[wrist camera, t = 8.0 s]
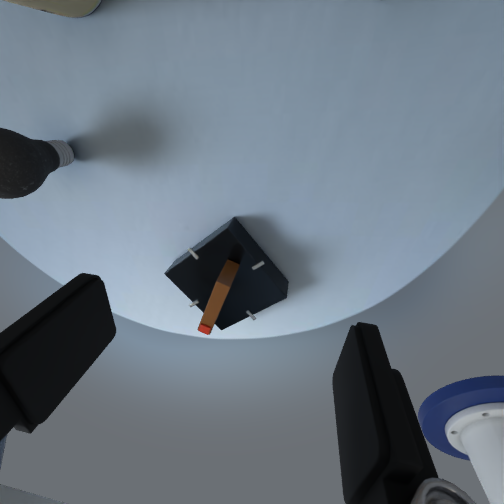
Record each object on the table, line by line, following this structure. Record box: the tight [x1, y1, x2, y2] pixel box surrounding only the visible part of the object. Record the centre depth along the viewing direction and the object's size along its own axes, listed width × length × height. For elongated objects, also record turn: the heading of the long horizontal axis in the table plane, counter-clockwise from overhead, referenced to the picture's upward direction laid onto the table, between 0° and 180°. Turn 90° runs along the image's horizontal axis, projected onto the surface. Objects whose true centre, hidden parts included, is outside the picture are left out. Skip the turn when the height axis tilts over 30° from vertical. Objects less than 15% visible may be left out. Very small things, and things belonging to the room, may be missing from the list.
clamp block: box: [164, 217, 289, 330], centre depth 30 cm, size 11×11×3 cm
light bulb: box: [0, 128, 74, 199], centre depth 23 cm, size 6×6×10 cm
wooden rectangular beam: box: [198, 260, 240, 335], centre depth 27 cm, size 7×1×4 cm, turn 159°
